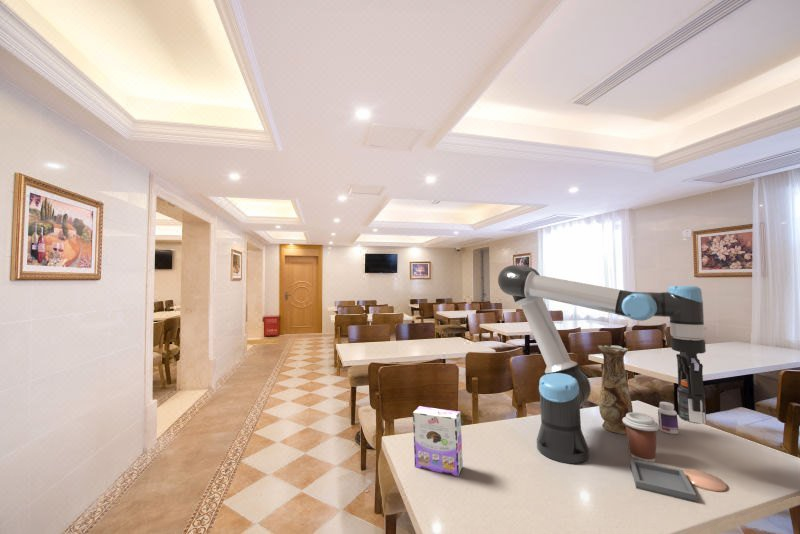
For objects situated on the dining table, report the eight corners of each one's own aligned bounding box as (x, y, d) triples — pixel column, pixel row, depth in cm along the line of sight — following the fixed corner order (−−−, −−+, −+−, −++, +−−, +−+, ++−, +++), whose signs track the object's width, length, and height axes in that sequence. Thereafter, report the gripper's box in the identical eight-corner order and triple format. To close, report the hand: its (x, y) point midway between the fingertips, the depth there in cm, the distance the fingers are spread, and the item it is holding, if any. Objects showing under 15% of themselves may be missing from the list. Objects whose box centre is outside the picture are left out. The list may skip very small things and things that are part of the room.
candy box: (463, 466, 95) (461, 410, 96) (458, 477, 89) (456, 418, 90) (420, 457, 100) (419, 404, 101) (413, 467, 95) (412, 411, 96)
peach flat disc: (685, 485, 83) (685, 482, 84) (676, 468, 91) (676, 465, 91) (732, 495, 79) (732, 493, 79) (719, 476, 87) (718, 474, 87)
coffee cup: (624, 445, 104) (621, 408, 105) (659, 453, 99) (656, 414, 100) (624, 458, 97) (621, 418, 98) (662, 467, 92) (659, 425, 92)
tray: (636, 488, 83) (635, 481, 83) (630, 465, 93) (629, 459, 93) (696, 502, 77) (696, 495, 77) (683, 476, 87) (682, 469, 87)
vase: (593, 423, 122) (588, 345, 124) (619, 421, 123) (613, 344, 125) (615, 436, 111) (609, 350, 113) (642, 433, 112) (636, 349, 114)
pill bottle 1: (682, 434, 111) (680, 406, 112) (667, 434, 111) (665, 406, 112) (669, 427, 117) (667, 400, 117) (655, 427, 117) (653, 400, 118)
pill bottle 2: (712, 425, 88) (710, 384, 89) (688, 424, 89) (686, 383, 90) (695, 416, 94) (694, 378, 95) (673, 415, 95) (671, 377, 96)
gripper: (717, 344, 83) (723, 434, 82) (693, 334, 100) (697, 408, 98) (680, 342, 86) (685, 428, 85) (662, 332, 103) (666, 404, 102)
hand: (692, 417), depth 92 cm, fingers closed on pill bottle 2, 6 cm apart
